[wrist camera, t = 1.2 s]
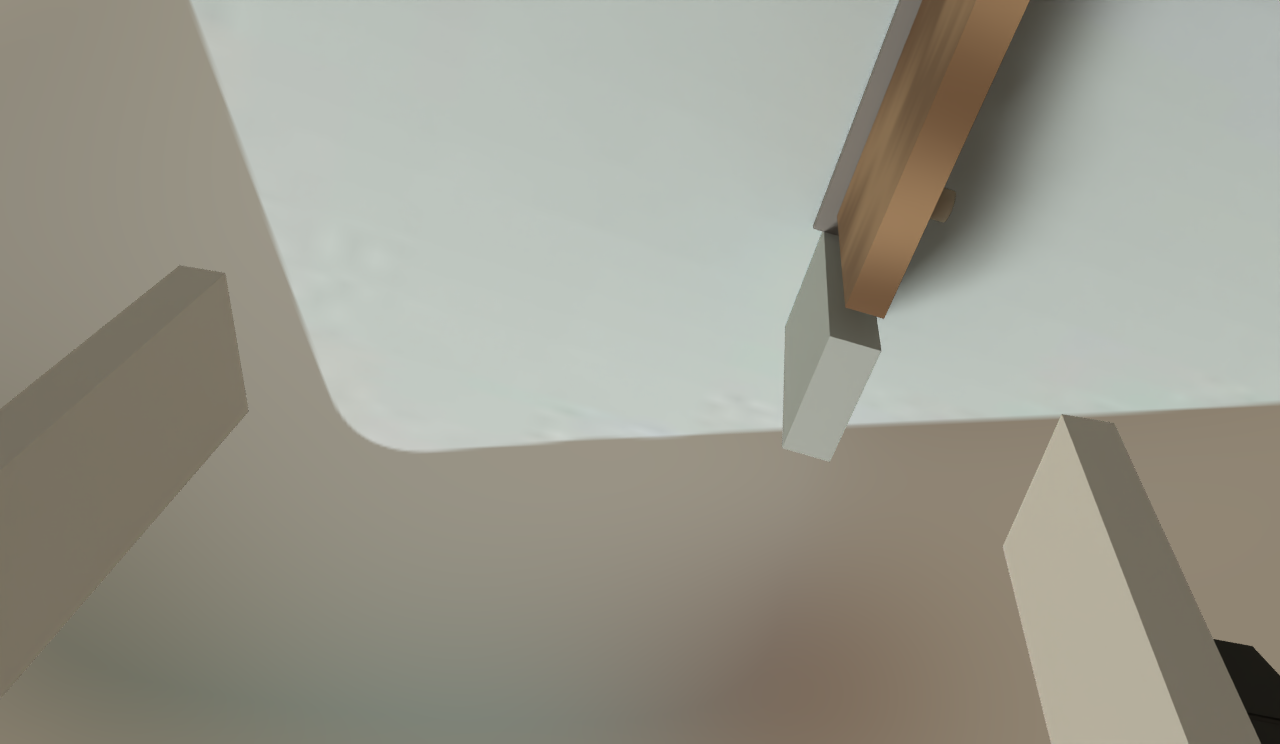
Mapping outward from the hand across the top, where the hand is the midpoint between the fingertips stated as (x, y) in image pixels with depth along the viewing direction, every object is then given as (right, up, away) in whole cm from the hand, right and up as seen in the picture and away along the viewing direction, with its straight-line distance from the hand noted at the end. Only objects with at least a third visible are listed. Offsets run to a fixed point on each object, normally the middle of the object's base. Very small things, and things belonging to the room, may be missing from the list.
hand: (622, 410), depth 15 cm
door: (+10, +12, +15) cm, 22 cm away
